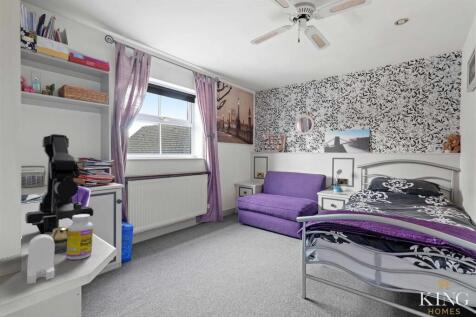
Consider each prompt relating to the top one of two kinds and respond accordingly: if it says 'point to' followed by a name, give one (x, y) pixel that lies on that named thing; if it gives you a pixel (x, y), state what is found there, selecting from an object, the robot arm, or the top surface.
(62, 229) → the gold rounded cylinder
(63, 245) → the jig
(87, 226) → the supplement bottle
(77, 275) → the top surface
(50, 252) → the cable organizer
